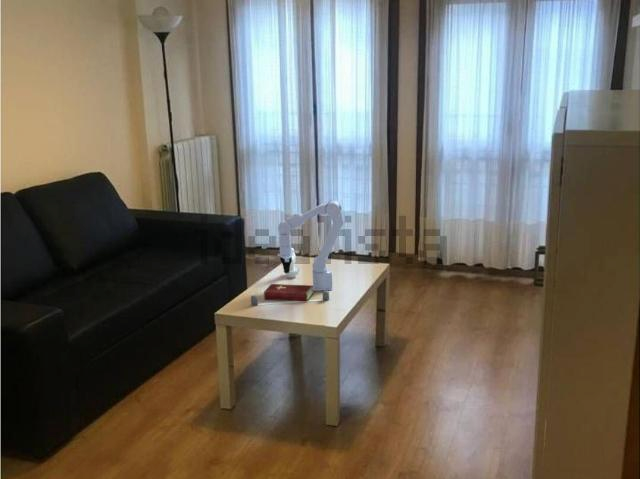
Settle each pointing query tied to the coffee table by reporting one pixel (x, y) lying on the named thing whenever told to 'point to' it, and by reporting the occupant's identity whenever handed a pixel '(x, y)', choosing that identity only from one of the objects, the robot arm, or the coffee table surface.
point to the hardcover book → (288, 292)
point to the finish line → (255, 301)
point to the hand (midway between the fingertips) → (286, 272)
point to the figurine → (293, 270)
